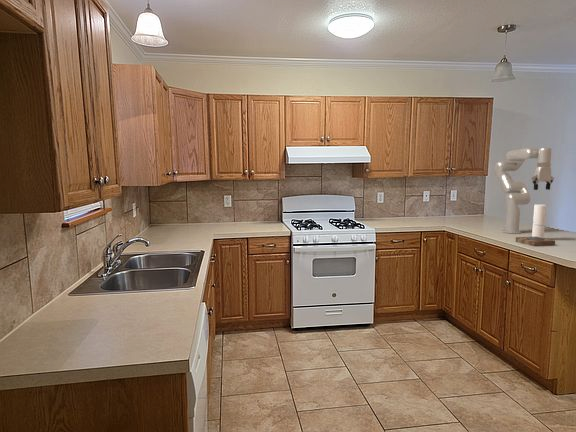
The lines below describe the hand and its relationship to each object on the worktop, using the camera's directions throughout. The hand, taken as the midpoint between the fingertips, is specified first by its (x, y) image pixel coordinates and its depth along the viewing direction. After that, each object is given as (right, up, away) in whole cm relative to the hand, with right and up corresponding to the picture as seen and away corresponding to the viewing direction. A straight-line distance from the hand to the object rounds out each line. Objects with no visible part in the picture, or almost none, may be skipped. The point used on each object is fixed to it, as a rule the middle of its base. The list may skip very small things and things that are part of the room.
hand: (541, 189), depth 263 cm
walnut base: (-11, -38, -9) cm, 40 cm away
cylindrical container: (0, -36, +5) cm, 36 cm away
